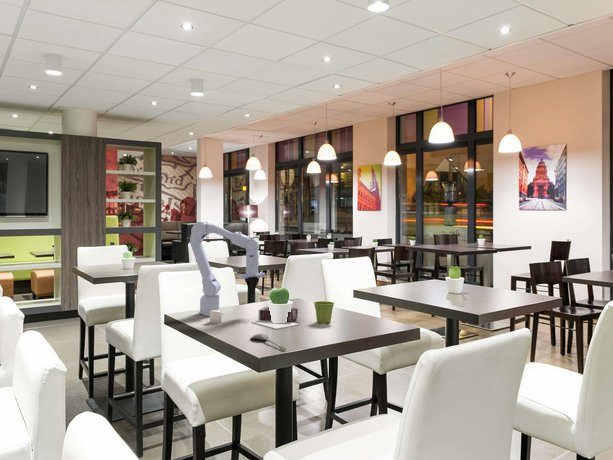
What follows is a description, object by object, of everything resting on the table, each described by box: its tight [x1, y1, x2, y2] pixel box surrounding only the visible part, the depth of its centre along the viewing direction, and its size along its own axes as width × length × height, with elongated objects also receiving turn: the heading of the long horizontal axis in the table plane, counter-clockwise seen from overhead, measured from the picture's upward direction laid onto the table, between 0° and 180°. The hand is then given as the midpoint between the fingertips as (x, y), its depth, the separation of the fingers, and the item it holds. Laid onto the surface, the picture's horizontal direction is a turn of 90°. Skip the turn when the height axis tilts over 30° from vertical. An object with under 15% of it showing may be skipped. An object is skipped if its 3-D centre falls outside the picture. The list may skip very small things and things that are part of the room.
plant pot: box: [313, 300, 335, 324], centre depth 217 cm, size 9×9×9 cm
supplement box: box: [258, 306, 299, 323], centre depth 219 cm, size 9×5×16 cm
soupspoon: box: [249, 333, 287, 352], centre depth 178 cm, size 22×3×7 cm
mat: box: [250, 319, 300, 330], centre depth 212 cm, size 17×13×1 cm
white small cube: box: [209, 309, 223, 324], centre depth 214 cm, size 5×5×5 cm
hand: (251, 293), depth 229 cm, fingers closed
